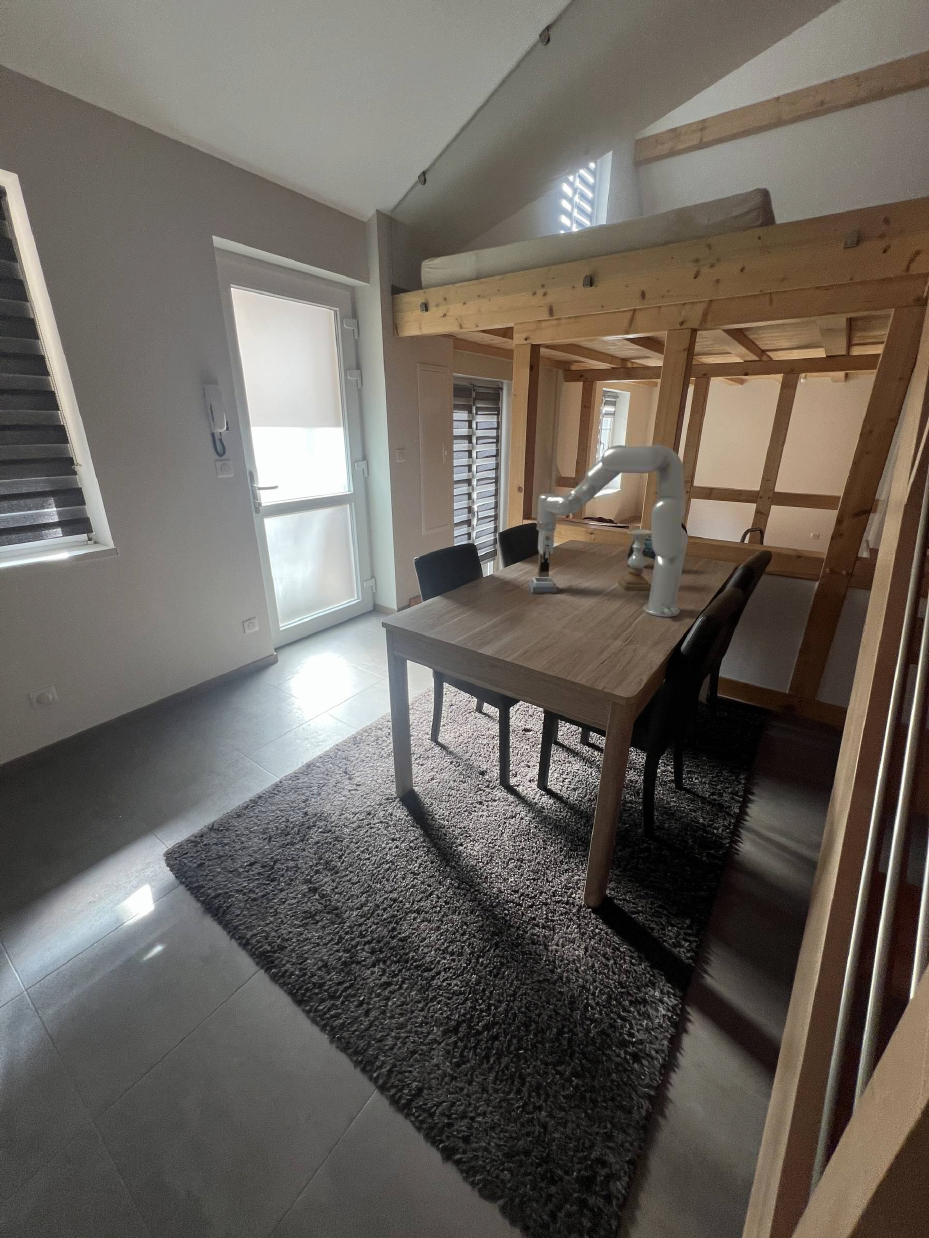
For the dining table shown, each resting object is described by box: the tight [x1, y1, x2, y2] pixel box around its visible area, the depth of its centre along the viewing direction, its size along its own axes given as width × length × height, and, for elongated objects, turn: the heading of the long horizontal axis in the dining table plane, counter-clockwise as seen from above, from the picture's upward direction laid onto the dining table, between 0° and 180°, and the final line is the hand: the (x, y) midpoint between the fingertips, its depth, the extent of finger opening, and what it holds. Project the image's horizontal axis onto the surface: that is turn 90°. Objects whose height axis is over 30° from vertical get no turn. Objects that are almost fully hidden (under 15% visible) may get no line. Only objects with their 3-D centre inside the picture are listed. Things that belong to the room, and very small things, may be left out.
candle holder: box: [617, 528, 652, 591], centre depth 207 cm, size 11×11×24 cm
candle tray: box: [528, 576, 558, 595], centre depth 207 cm, size 10×10×4 cm
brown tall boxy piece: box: [537, 551, 551, 577], centre depth 203 cm, size 4×4×12 cm
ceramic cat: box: [627, 536, 656, 568], centre depth 232 cm, size 20×6×20 cm, turn 46°
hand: (543, 569), depth 204 cm, fingers closed on brown tall boxy piece, 3 cm apart
